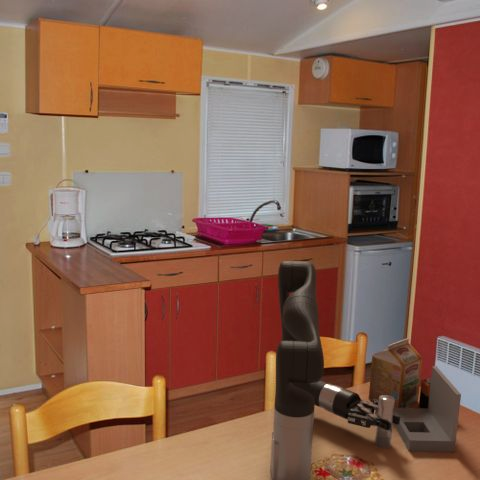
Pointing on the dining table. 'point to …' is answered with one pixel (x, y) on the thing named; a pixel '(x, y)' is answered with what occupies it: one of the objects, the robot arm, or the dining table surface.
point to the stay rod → (387, 414)
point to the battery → (424, 393)
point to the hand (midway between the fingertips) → (394, 423)
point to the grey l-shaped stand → (432, 418)
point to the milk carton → (396, 374)
